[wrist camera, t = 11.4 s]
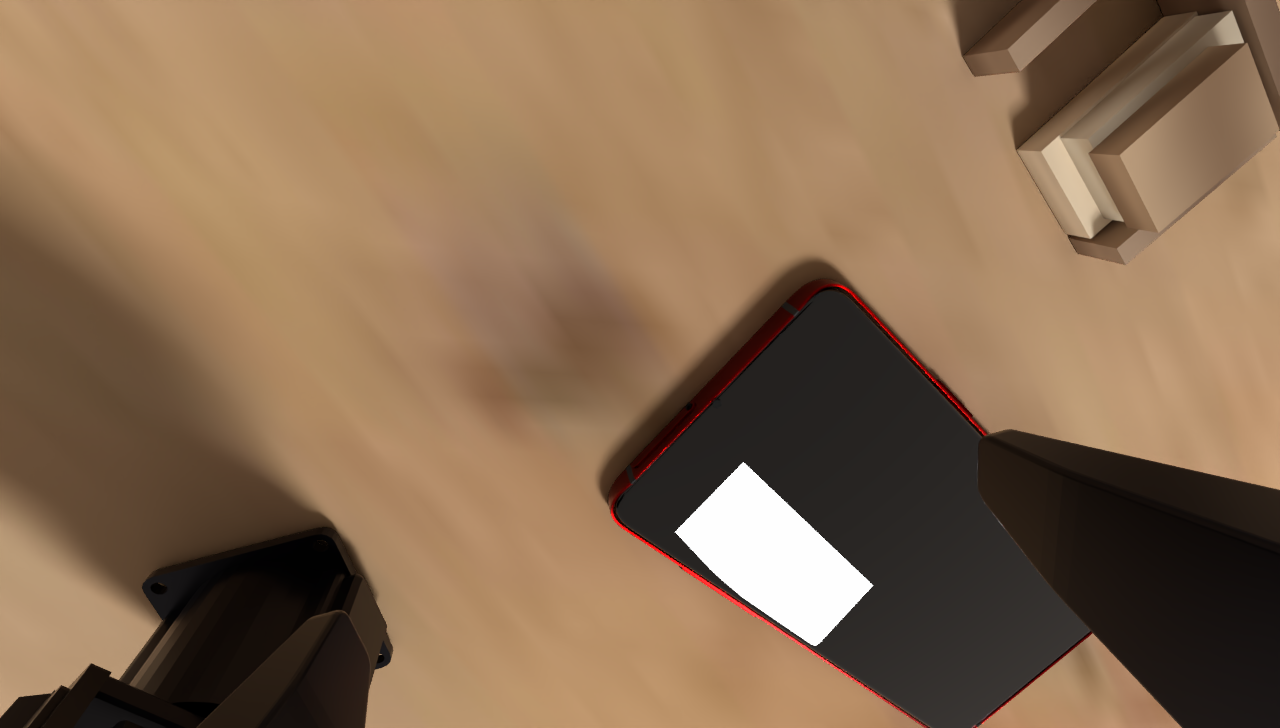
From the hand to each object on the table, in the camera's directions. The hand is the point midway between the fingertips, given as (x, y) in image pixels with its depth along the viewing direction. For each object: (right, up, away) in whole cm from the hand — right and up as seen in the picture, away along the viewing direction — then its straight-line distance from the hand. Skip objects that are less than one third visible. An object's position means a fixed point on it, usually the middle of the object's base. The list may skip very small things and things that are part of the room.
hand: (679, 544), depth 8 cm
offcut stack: (+16, +11, +13) cm, 23 cm away
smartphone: (+11, -5, +19) cm, 22 cm away
